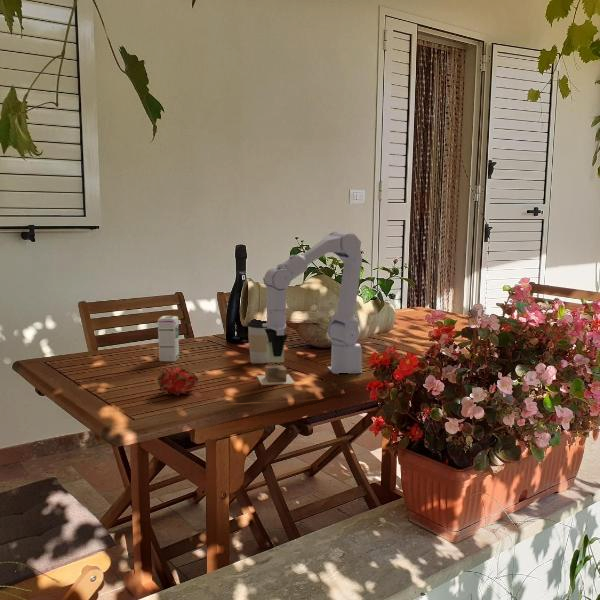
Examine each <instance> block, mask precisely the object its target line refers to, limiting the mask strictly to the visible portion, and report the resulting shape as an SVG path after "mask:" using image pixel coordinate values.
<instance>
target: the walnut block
mask: <svg viewBox="0 0 600 600" xmlns="http://www.w3.org/2000/svg"><path fill="white" fill-rule="evenodd" d="M264 369H265V370H264V371H265V374H264V375H265V378H266V380H267V381H268V382H286V374H287V368H286V367H285V366H284V365H265V366H264Z"/></svg>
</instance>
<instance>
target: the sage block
mask: <svg viewBox="0 0 600 600" xmlns="http://www.w3.org/2000/svg"><path fill="white" fill-rule="evenodd" d="M267 360H268V361H269V362H271V363H284V362H285V345H284V346H283V350H282V354H281V356H278V357H274V355H273V349H272V343H271V342H267Z"/></svg>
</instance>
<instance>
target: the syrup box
mask: <svg viewBox="0 0 600 600" xmlns="http://www.w3.org/2000/svg"><path fill="white" fill-rule="evenodd" d="M179 330H180V329H179V316H177V315H162V316H161V317H159V318H158V319H157V333H158V334H157V336H158V337H157V339H158V361H159V362H176V361H177V360H178V359H180V340H179V338H180V336H179V335H180V334H179V332H180V331H179Z"/></svg>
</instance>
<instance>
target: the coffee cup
mask: <svg viewBox="0 0 600 600" xmlns="http://www.w3.org/2000/svg"><path fill="white" fill-rule="evenodd" d="M250 320H251V319H250ZM250 320H249V321H250ZM249 321H248V322H247V328H248V330H247V331H248V332H247V336H248V350H249V359H250V363H251V364H268V363H269V364H270V362H269V361H268V360H267V342H269V340H268V336H267V334H266V331H265V329H270V328H268V327H263V324H266V323H267V321H261V320H256V319H253V320H251V321H250V322H249Z"/></svg>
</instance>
